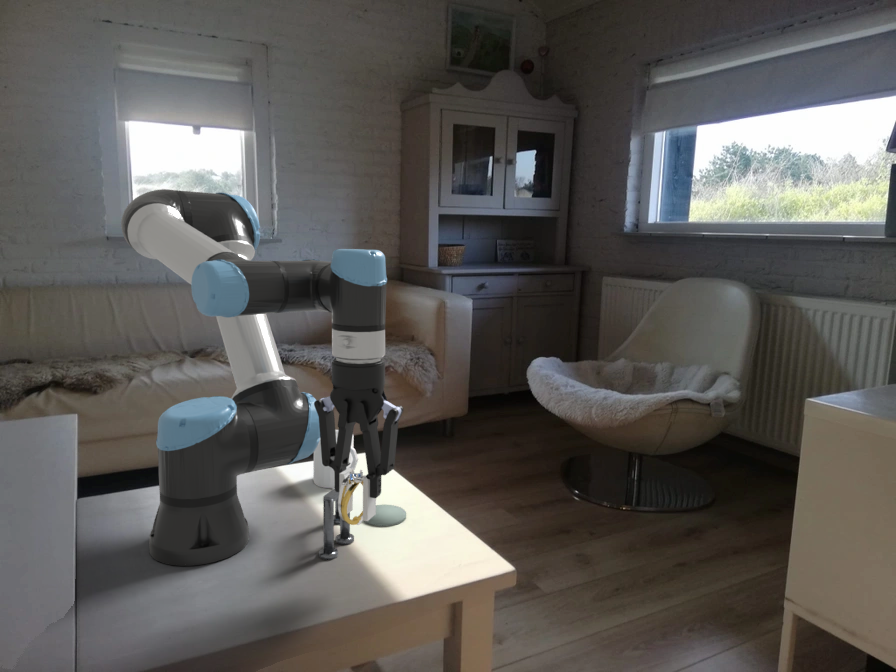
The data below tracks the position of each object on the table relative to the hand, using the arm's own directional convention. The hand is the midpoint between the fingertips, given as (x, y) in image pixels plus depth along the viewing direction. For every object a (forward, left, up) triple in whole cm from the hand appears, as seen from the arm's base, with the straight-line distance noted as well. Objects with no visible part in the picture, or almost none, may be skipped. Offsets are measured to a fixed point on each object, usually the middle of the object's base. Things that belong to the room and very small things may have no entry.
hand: (357, 514), depth 96 cm
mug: (-20, +32, -10) cm, 39 cm away
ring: (0, -1, -1) cm, 2 cm away
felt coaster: (-5, +21, -10) cm, 24 cm away
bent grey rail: (-9, +10, -10) cm, 17 cm away
